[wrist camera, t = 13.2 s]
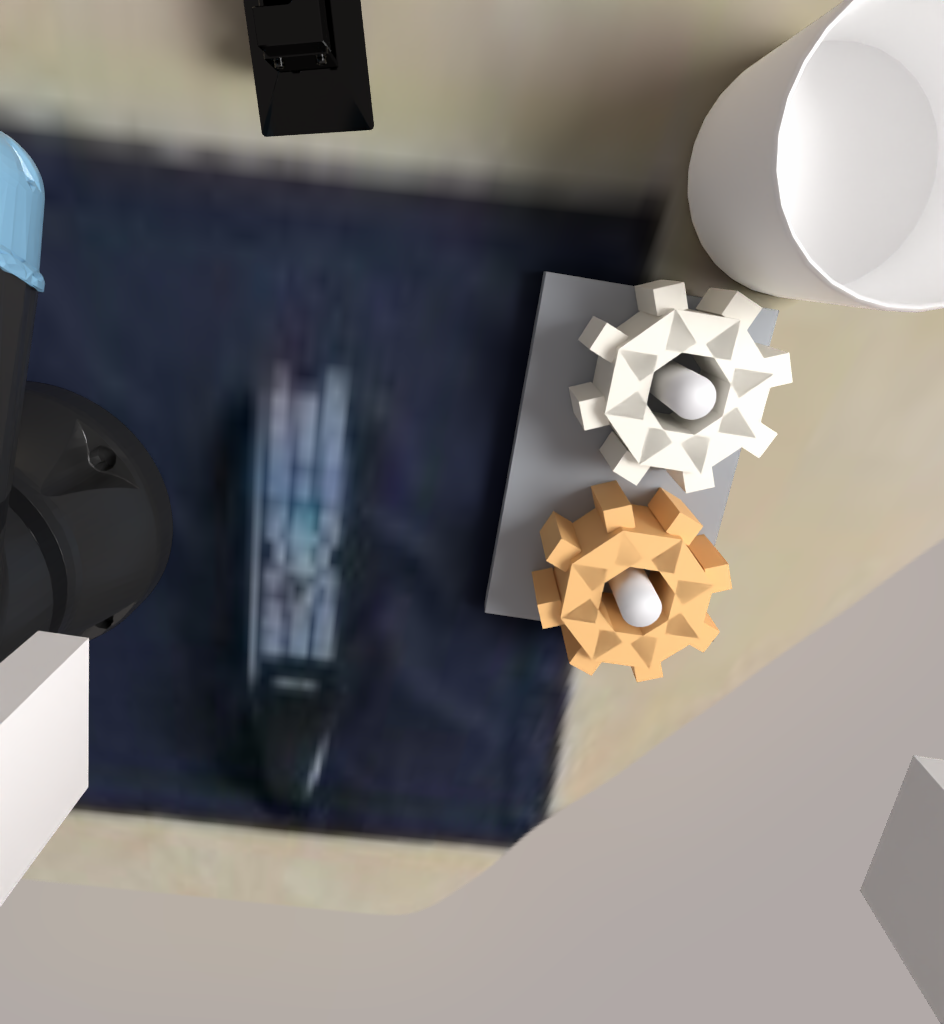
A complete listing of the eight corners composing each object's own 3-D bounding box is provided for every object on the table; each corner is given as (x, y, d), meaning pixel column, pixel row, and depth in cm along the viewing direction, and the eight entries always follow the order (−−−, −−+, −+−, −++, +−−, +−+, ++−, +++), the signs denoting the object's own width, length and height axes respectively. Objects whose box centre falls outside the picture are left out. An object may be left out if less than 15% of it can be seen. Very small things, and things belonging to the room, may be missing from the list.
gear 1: (555, 452, 42) (565, 477, 37) (591, 267, 39) (608, 269, 34) (729, 479, 42) (761, 508, 37) (778, 298, 39) (820, 304, 34)
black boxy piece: (211, -122, 36) (174, -175, 31) (369, -136, 35) (354, -192, 31) (254, 172, 39) (227, 161, 35) (397, 160, 39) (387, 148, 35)
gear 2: (520, 628, 45) (525, 671, 40) (551, 470, 42) (561, 497, 37) (681, 651, 45) (705, 697, 41) (723, 497, 42) (755, 527, 38)
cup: (963, 82, 38) (1175, 6, 26) (865, 322, 41) (1014, 346, 30) (734, 12, 37) (850, -99, 25) (654, 263, 40) (724, 265, 29)
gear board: (484, 601, 46) (486, 664, 39) (543, 271, 40) (558, 274, 33) (681, 630, 47) (718, 697, 40) (768, 308, 41) (829, 319, 34)
